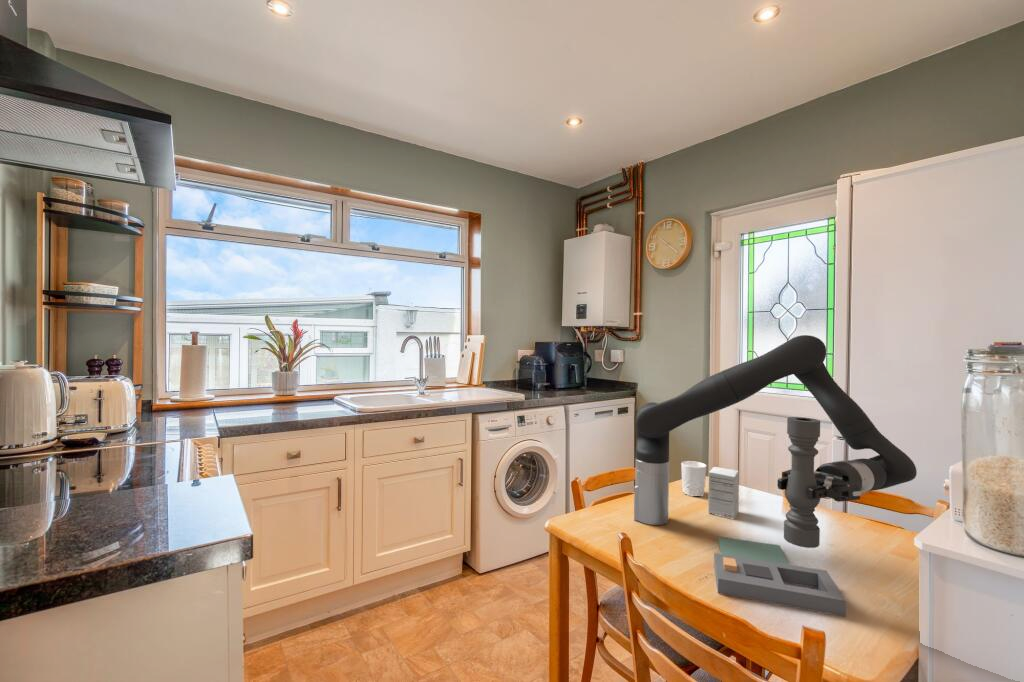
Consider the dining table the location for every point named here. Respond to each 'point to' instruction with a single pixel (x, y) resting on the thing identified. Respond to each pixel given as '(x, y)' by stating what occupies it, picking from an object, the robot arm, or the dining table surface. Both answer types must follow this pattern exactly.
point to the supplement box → (723, 492)
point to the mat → (752, 550)
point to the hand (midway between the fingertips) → (794, 489)
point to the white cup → (693, 477)
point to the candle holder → (802, 483)
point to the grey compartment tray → (778, 584)
